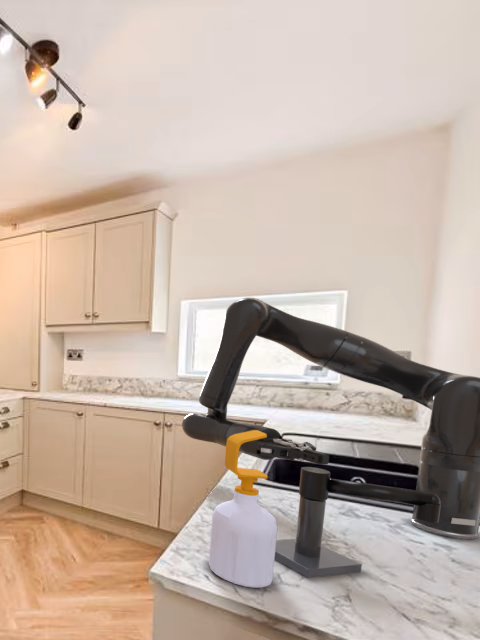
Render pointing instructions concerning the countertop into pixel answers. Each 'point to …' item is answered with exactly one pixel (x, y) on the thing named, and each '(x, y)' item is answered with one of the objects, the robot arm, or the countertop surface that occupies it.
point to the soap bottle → (243, 526)
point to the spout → (368, 492)
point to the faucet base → (314, 564)
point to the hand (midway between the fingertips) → (325, 459)
